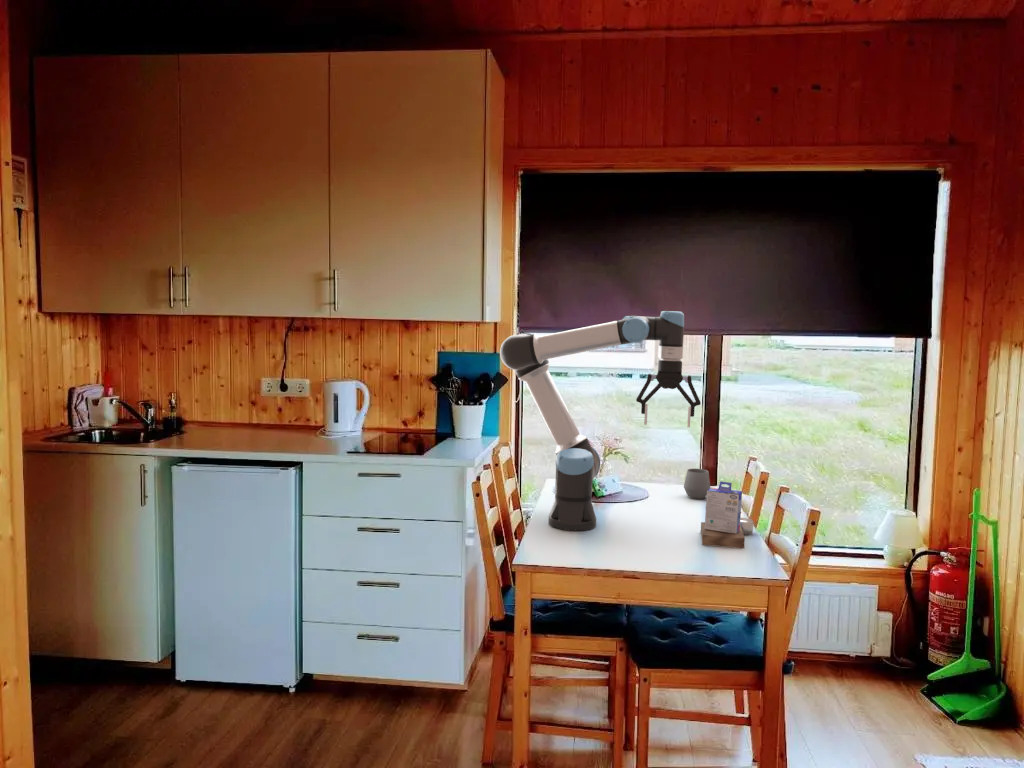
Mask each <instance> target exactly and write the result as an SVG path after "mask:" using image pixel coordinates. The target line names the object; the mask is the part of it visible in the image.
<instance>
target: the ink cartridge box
mask: <svg viewBox="0 0 1024 768" xmlns="http://www.w3.org/2000/svg"><path fill="white" fill-rule="evenodd" d="M723 485H727V486H723ZM742 497H743V491H742V490H735V489H734V490H733V489H732V482H727V481H719V485H718V488H714V487H710V489H709V490H708V491H707V495H706V497H705V498H706V500H705V501H706V502H705V515H704V516H705V517H704V522H705V529H707V530H714V531H721V532H728V533H734V534H737V533H738V531H739V530H740V518H742V517H741V515H742V514H741V513H742V500H743V499H742Z"/></svg>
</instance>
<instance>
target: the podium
mask: <svg viewBox="0 0 1024 768" xmlns="http://www.w3.org/2000/svg"><path fill="white" fill-rule="evenodd" d="M700 538H701V545H703V546H714V547H726V548H735V547H736V548H735V549H745V541H746V540H745V535H744V534H743V531H742V528H741V525H740V530H739V531H738V533H737V534H734V533H728V532H721V531H714V530H707V529H705V521H702V522H700Z"/></svg>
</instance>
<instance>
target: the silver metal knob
mask: <svg viewBox="0 0 1024 768" xmlns="http://www.w3.org/2000/svg"><path fill="white" fill-rule="evenodd" d="M740 525H741V528H742V531H743V534H744V536H751V535H753V532H754V520H753V519H752V518H747V517H740Z"/></svg>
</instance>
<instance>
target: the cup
mask: <svg viewBox="0 0 1024 768" xmlns="http://www.w3.org/2000/svg"><path fill="white" fill-rule="evenodd" d="M710 481H711V480H710V473H709V470H707V469H703V468H688V469H687V471H686V475H685V478H684V483H683V489H684V491H685V494H686V495H687V497H688V498H690V499H694V500H702V499H705V498H706V497H707V491H708V490H709V489H710V488H711V482H710Z"/></svg>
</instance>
